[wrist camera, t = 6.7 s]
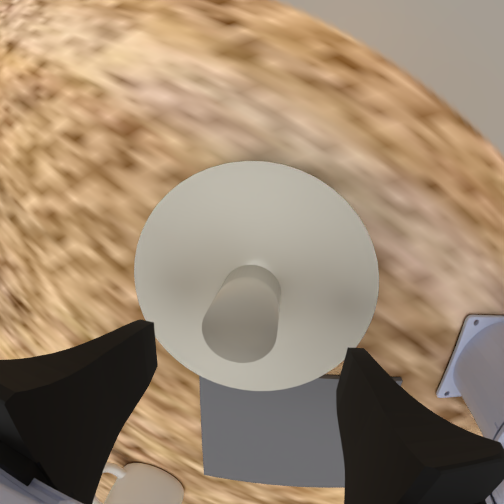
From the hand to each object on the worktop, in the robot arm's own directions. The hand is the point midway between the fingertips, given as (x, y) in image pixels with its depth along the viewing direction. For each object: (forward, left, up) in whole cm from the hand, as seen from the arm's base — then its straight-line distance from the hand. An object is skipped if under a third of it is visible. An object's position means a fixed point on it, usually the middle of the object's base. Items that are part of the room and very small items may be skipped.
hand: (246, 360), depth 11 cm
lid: (+1, 0, -6) cm, 6 cm away
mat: (-3, +16, -10) cm, 19 cm away
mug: (+13, +28, -11) cm, 33 cm away
